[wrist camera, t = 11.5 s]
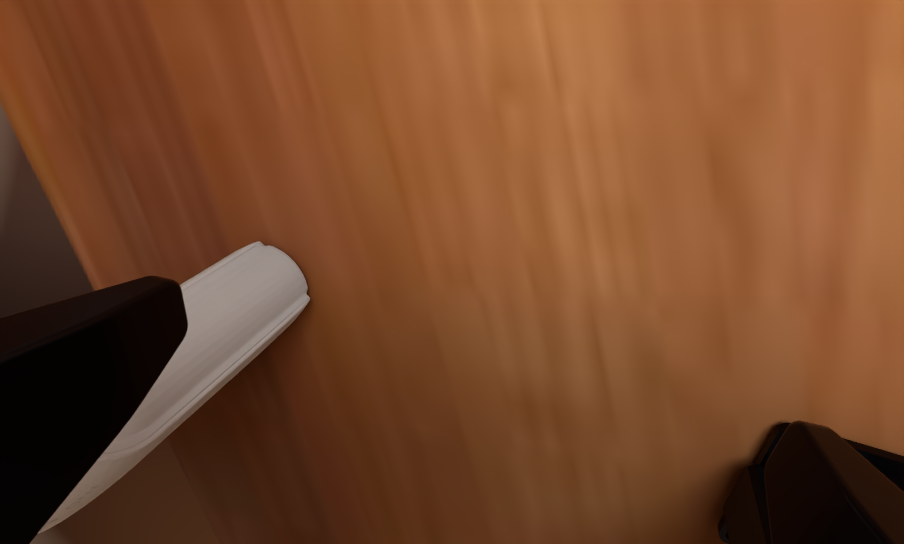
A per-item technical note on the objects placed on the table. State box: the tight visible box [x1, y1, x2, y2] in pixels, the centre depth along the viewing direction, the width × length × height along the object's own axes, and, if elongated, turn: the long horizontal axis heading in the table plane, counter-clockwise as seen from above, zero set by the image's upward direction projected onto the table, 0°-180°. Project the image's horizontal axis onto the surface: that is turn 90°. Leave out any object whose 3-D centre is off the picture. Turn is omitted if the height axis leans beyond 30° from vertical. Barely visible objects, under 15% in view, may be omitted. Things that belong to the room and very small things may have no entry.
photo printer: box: [38, 241, 310, 533], centre depth 21 cm, size 10×4×12 cm, turn 130°
